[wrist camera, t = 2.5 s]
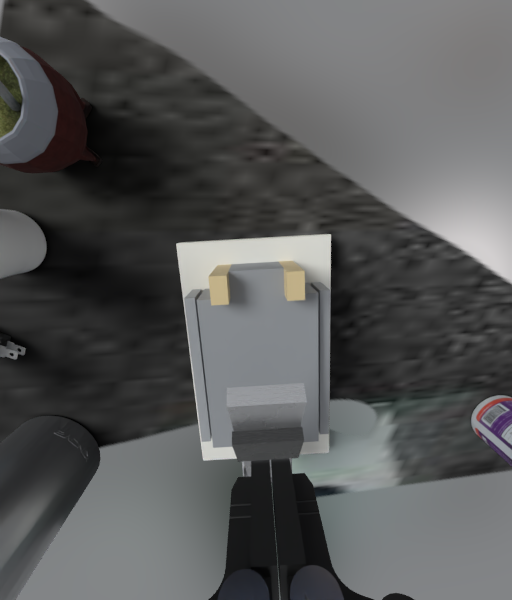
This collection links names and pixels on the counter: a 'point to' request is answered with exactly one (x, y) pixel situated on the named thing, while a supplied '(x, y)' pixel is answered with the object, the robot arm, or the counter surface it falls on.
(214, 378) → the base
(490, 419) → the pill bottle
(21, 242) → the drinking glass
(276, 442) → the latch bar
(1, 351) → the push button
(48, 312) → the counter surface
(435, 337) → the counter surface
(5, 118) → the mate gourd
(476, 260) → the counter surface
